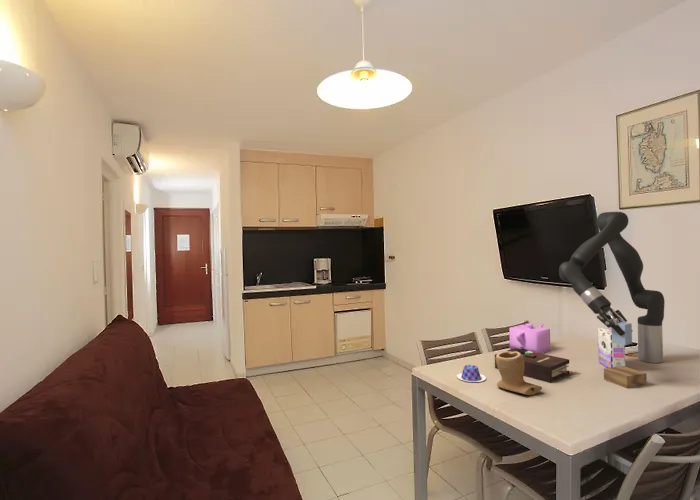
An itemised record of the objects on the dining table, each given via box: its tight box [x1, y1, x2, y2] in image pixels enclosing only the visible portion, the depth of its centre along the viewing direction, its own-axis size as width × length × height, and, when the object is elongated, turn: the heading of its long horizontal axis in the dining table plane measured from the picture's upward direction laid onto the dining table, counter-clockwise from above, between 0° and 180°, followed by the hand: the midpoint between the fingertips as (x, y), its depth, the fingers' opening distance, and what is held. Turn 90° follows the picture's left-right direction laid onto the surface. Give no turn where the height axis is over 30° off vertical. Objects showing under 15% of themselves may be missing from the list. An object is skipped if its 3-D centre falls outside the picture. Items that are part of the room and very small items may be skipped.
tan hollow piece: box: [496, 350, 543, 396], centre depth 152 cm, size 15×12×15 cm
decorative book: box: [494, 347, 571, 384], centre depth 174 cm, size 19×8×30 cm
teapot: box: [509, 323, 551, 354], centre depth 208 cm, size 15×25×14 cm, turn 125°
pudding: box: [456, 364, 487, 383], centre depth 168 cm, size 12×12×5 cm
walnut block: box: [603, 365, 648, 389], centre depth 157 cm, size 10×10×5 cm
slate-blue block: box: [611, 321, 633, 346], centre depth 158 cm, size 5×5×8 cm
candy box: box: [597, 327, 626, 368], centre depth 176 cm, size 14×6×16 cm, turn 168°
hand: (626, 333), depth 156 cm, fingers closed on slate-blue block, 5 cm apart
